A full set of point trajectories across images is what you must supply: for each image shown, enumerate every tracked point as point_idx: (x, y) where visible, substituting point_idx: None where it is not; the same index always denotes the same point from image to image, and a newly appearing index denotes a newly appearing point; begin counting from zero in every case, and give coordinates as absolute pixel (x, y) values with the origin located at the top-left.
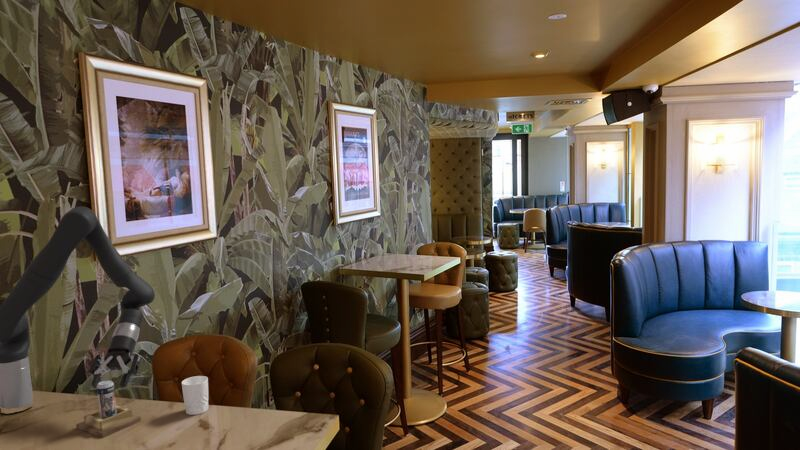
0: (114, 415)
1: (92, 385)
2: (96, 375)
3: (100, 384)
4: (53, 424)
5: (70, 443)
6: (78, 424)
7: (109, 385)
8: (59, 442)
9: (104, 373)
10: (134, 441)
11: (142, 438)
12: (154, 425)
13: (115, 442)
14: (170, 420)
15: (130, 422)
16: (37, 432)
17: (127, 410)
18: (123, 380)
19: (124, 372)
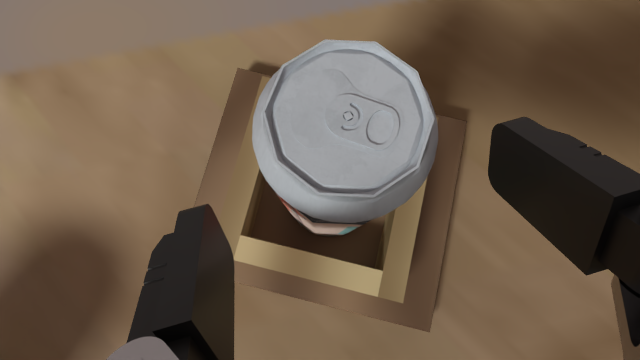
0: (255, 159)
1: (520, 119)
2: (625, 185)
3: (363, 64)
4: (615, 137)
5: (347, 10)
6: (452, 122)
7: (263, 107)
8: (405, 7)
9: (622, 343)
10: (67, 78)
11: (47, 108)
12: (72, 235)
13: (150, 54)
14: (17, 307)
15: (196, 206)
16: (602, 57)
17: (226, 237)
18: (174, 258)
19: (160, 349)
